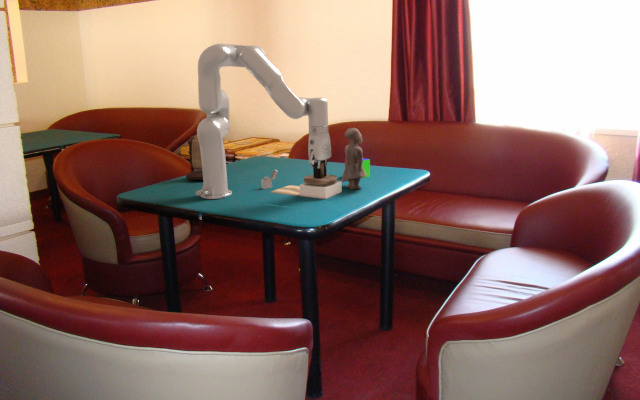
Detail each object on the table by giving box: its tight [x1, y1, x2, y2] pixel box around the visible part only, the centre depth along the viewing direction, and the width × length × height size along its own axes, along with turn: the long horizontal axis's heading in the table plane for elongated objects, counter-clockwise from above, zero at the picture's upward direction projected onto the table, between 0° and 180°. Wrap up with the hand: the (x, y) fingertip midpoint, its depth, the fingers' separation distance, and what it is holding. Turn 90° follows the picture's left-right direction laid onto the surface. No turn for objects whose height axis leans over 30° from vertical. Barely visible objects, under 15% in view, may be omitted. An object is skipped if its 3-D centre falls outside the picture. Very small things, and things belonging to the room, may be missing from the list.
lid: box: [303, 162, 338, 184], centre depth 221 cm, size 13×13×7 cm
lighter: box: [260, 169, 279, 190], centre depth 237 cm, size 7×2×8 cm, turn 116°
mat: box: [270, 184, 300, 197], centre depth 231 cm, size 14×14×1 cm
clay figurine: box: [341, 127, 367, 190], centre depth 230 cm, size 13×10×25 cm
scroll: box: [185, 135, 203, 182], centre depth 260 cm, size 15×15×20 cm
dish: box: [298, 180, 343, 200], centre depth 223 cm, size 12×12×5 cm
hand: (320, 176), depth 221 cm, fingers closed on lid, 3 cm apart
